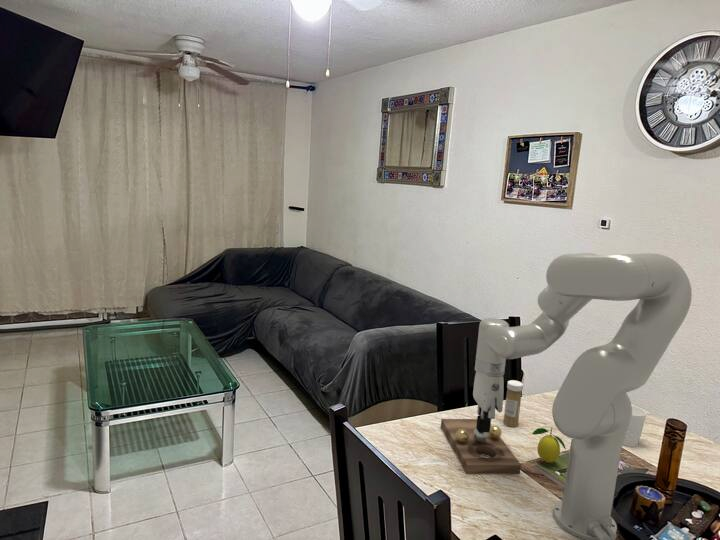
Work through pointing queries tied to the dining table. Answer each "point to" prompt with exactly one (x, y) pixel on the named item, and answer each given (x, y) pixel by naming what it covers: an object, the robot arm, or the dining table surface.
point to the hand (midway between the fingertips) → (482, 430)
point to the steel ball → (480, 436)
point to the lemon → (548, 446)
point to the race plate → (480, 450)
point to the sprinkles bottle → (512, 403)
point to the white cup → (635, 427)
